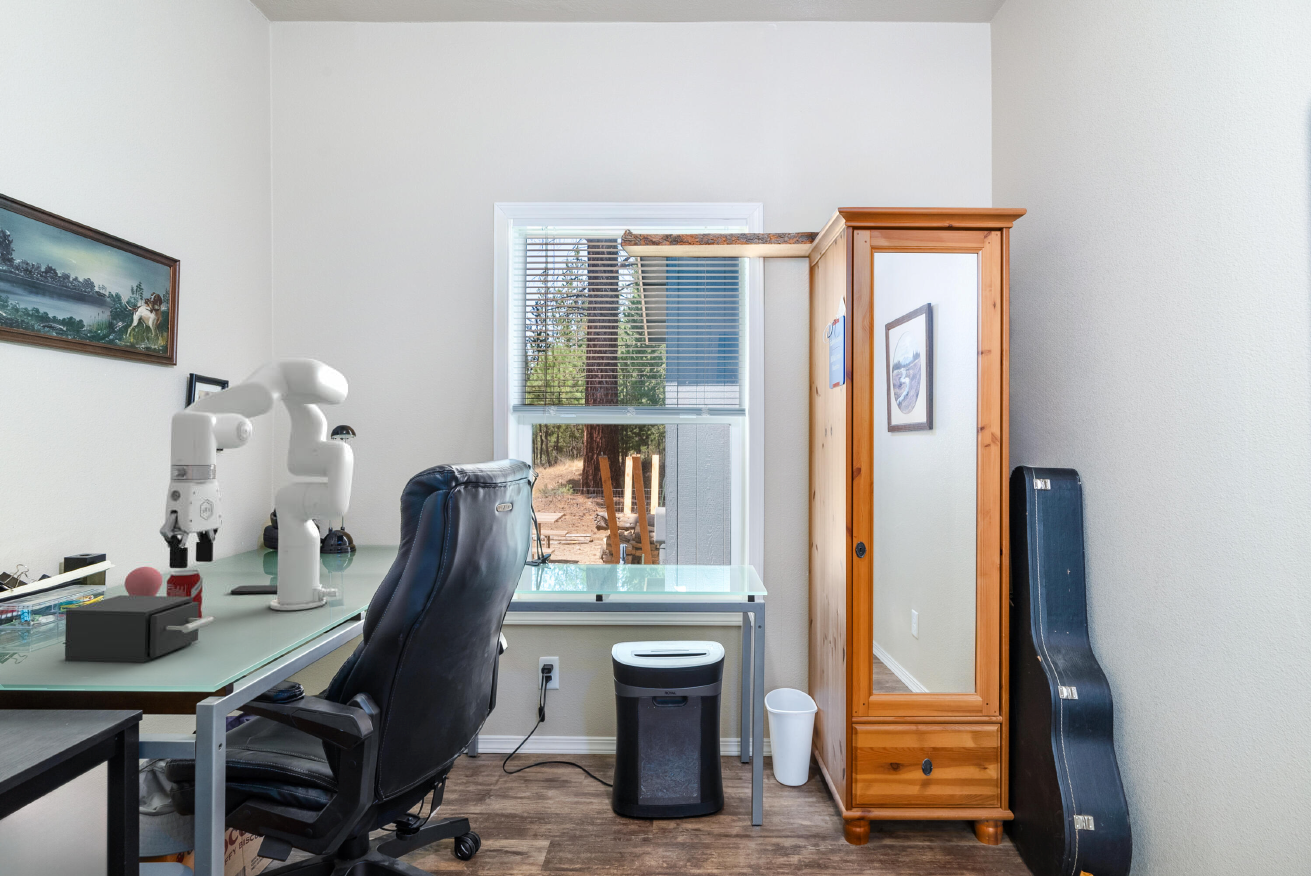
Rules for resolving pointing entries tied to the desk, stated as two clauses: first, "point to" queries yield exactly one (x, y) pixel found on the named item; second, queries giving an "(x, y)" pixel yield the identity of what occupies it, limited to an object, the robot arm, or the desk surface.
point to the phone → (255, 589)
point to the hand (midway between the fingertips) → (191, 563)
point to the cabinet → (114, 628)
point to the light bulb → (143, 582)
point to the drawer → (174, 628)
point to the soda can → (186, 586)
